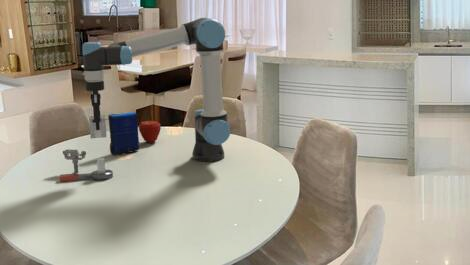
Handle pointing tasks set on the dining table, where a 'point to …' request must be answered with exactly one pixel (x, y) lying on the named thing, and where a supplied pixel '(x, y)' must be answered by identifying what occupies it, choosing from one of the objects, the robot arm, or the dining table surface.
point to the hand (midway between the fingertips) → (98, 135)
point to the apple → (149, 130)
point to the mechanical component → (74, 157)
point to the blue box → (123, 133)
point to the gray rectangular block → (103, 126)
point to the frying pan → (90, 174)
